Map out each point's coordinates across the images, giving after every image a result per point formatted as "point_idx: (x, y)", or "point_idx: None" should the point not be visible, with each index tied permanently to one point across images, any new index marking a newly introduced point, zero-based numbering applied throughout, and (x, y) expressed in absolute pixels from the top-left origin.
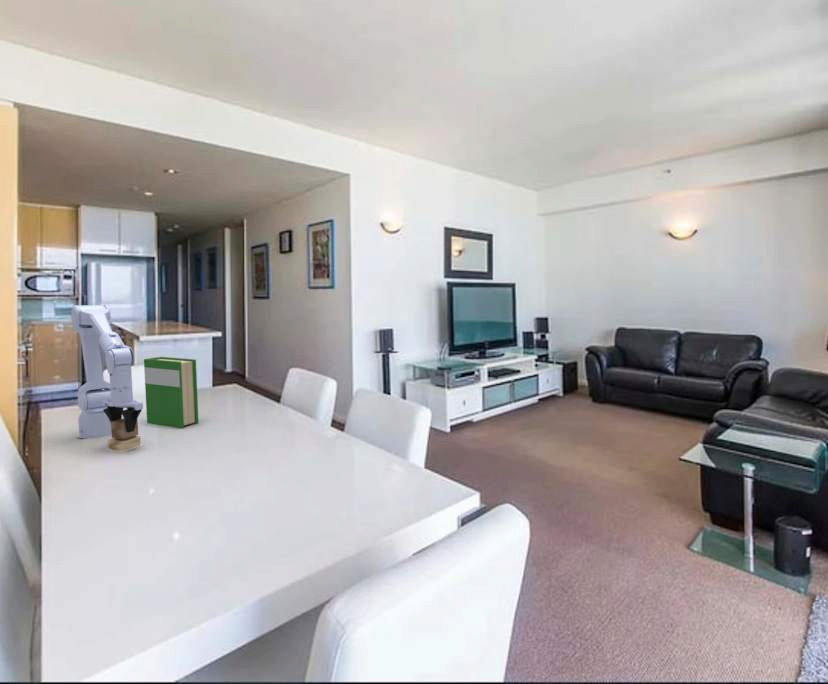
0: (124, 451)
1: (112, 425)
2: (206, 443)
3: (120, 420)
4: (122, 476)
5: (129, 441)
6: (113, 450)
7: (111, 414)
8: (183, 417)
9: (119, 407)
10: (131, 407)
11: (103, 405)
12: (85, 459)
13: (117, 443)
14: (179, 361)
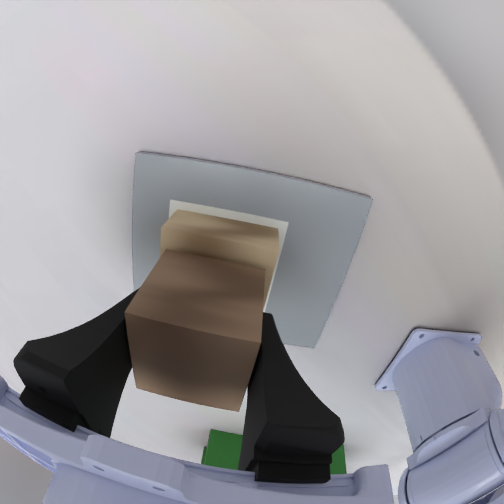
0: (170, 208)
1: (246, 318)
2: (39, 326)
3: (213, 369)
4: (24, 23)
5: None
6: (235, 211)
7: (260, 400)
8: (205, 458)
9: (243, 470)
10: (43, 418)
11: (376, 471)
12: (299, 97)
13: (205, 229)
14: None
